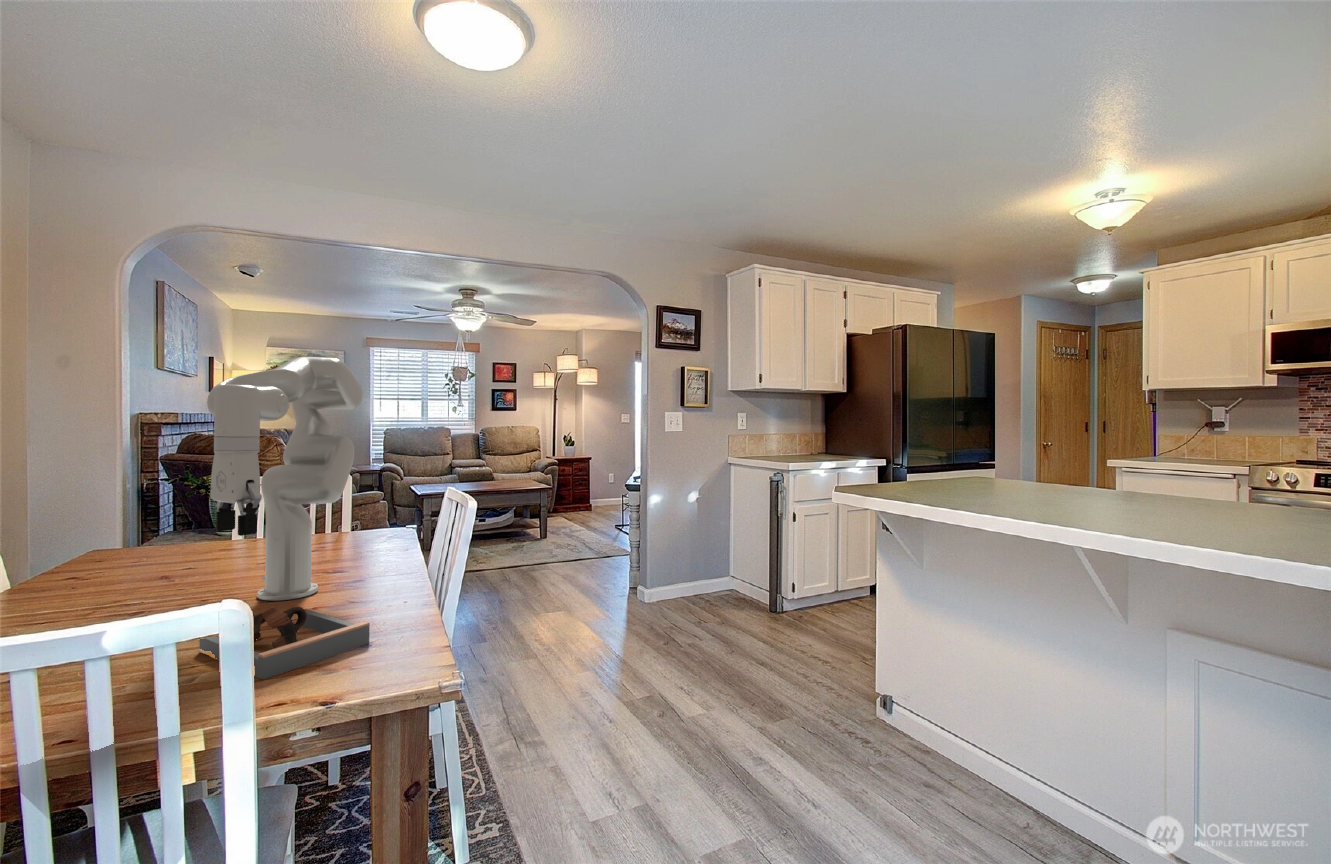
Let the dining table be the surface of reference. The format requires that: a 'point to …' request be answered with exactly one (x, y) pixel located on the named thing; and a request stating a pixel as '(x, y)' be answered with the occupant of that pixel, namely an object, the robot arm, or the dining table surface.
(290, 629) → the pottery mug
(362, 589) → the dining table surface
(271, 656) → the bay
